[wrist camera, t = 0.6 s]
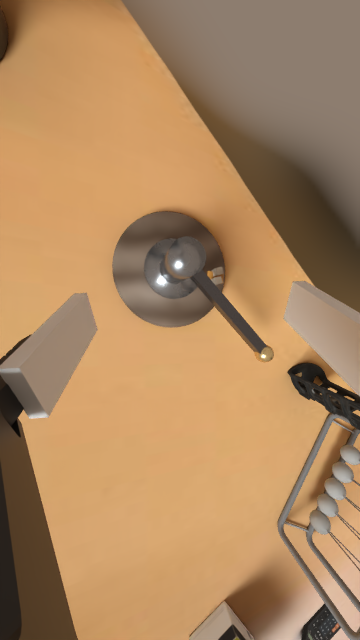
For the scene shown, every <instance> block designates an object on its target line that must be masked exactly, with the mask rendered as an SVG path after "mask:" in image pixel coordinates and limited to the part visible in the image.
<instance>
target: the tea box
mask: <svg viewBox="0 0 360 640" xmlns="http://www.w3.org/2000/svg"><path fill="white" fill-rule="evenodd" d="M189 640H255V639H254V638H253V636H252V635H251V634H250V632H249V631H248V630H247V628H246V627H245V626H244V625H243V624H242V622H241V621H240V619H239V618H238V617H237V616H236V615H235V613H234V612H233V611H232V609H231V608H230V607H229V606H228V604H227V603H226V602H225V601H223V602H222V603H221V604H220V605H219V606H218V607H217V608H216V609H215V610H214V611H213V612H212V613H211V614H210V615H209V616H208V618H207V619H206V620H205V621H204V622H203V623H202V624H201V625H200V626H199V627H198V628H197V629H196V630H195V631H194V632H193V633H192V635H191V636H190V637H189Z"/></svg>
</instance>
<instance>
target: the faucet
mask: <svg viewBox="0 0 360 640" xmlns="http://www.w3.org/2000/svg"><path fill="white" fill-rule="evenodd" d="M205 263H206V252H205V249H204V247H203V245H202V244H201V243H200V242H199V241H198V240H197V239H195V238H193V237H189V236H185V237H181V238H178V239H173V238H170V239H164V240H161V241H159V242H157V243H156V244H155V245H154V246H153V247H152V248H151V249H150V250H149V252H148V253H147V256H146V258H145V262H144V274H145V278H146V281H147V283H148V284H149V286H150V287H151V289H152V290H153V291H154V292H156V293H157V294H158V295H160V296H162V297H165V298H169V299H178V298H183V297H185V296H188V295H189V294H191V293H192V292H193V291H194V290H195V289H196V288H197V287H198V288H199V289H200V290H201V291H202V292H203V294H204V295H205V296H206V297H207V298H208V299H209V301H210V302H211V303H212V304H213V305H214V306H215V307H216V309H217V310H218V311H219V312H220V313H221V314H222V316H223V317H224V318H225V319H226V320H227V321H228V322H229V324H230V325H231V326H232V327H233V328H234V329H235V330H236V332H237V333H238V334H239V335H240V336H241V337H242V339H243V340H244V341H245V342H246V343H247V344H248V345H249V347H250V348H251V349H252V350H253V351H254V352H255V357H256V358H257V359H258V360H259V361H261V362H269V361H271V360H272V358H273V356H274V352H273V349H272V348H271V347H270V346H268V345H265V343H264V342H263V341H262V340H261V339H260V337H259V336H258V335H257V334H256V333H255V331H254V330H253V329H252V328H251V327H250V326H249V324H248V323H247V322H246V321H245V320H244V318H243V317H242V316H241V315H240V314H239V313H238V311H237V310H236V309H235V308H234V307H233V305H232V304H231V303H230V302H229V301H228V299H227V298H226V297H225V296H224V295H223V294H222V292H221V291H220V290H219V289H218V288H217V286H216V285H215V284H214V283H213V282H212V280H211V279H210V278H209V277H208V276H207V275H206V273H205V272H204V271H203V270H202V269H203V267H204V265H205Z"/></svg>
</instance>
